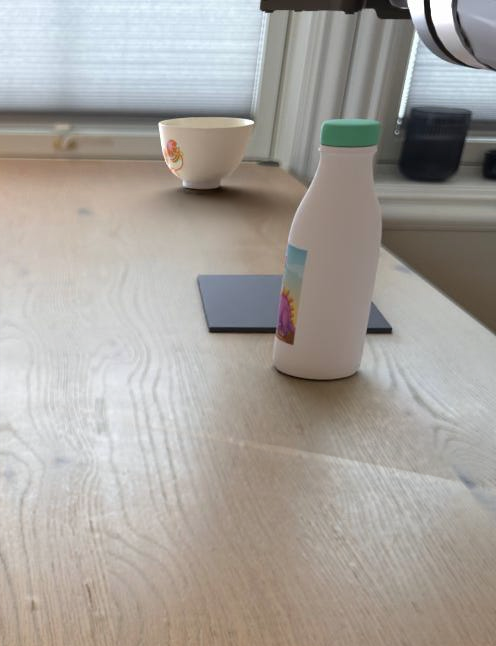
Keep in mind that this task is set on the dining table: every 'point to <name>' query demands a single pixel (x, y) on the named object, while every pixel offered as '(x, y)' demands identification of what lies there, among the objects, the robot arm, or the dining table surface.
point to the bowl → (204, 148)
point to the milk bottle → (332, 258)
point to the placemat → (254, 304)
